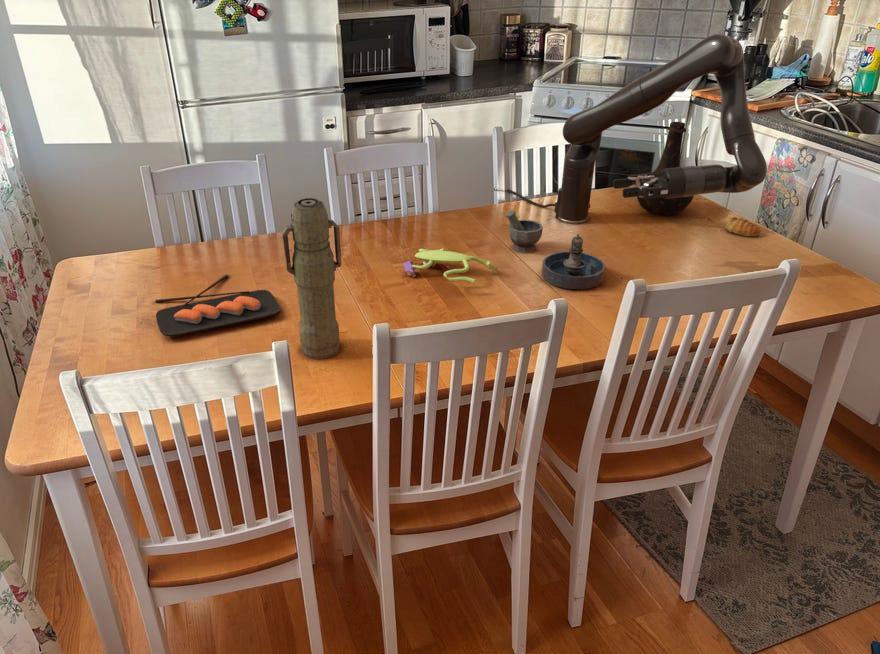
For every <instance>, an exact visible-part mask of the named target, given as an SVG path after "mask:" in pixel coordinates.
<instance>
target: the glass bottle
mask: <svg viewBox="0 0 880 654" xmlns="http://www.w3.org/2000/svg"><path fill="white" fill-rule="evenodd" d="M666 130H667V131H668V134H667V137H666V141H665V144H664V148H663V150H662V151H663V152H662V155H661V158H660V160H659V162H658V165H657V167H656V168H655V169H654V171H651V172H650V173H651V175H652V176H655V177H659V176H660V174H661V171H662V170H663V169H666V168H676V167H681V166H680V165H681V153H682V144H683V136H684V133H686V132H687V128H686V122H683V121H671V122H670V123H669V126H668V127H666ZM643 198H644V197H642V198H640V197H639V196H638V197H636V200H637V202H638V204H639V206H640V207H641V208H642V209H643V210H644V211H646V212H648V213H650V214H653V215H658V216H672V215H677V214H678V213H681V212H682V211H684V210H685V209H686V208H687V207H688V206H690V204H691V203H692V201H693V200H694V198H695V195H694V196H688V197H679V198H669V199H664V198H663V197H660V198H652V199H643Z"/></svg>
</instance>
